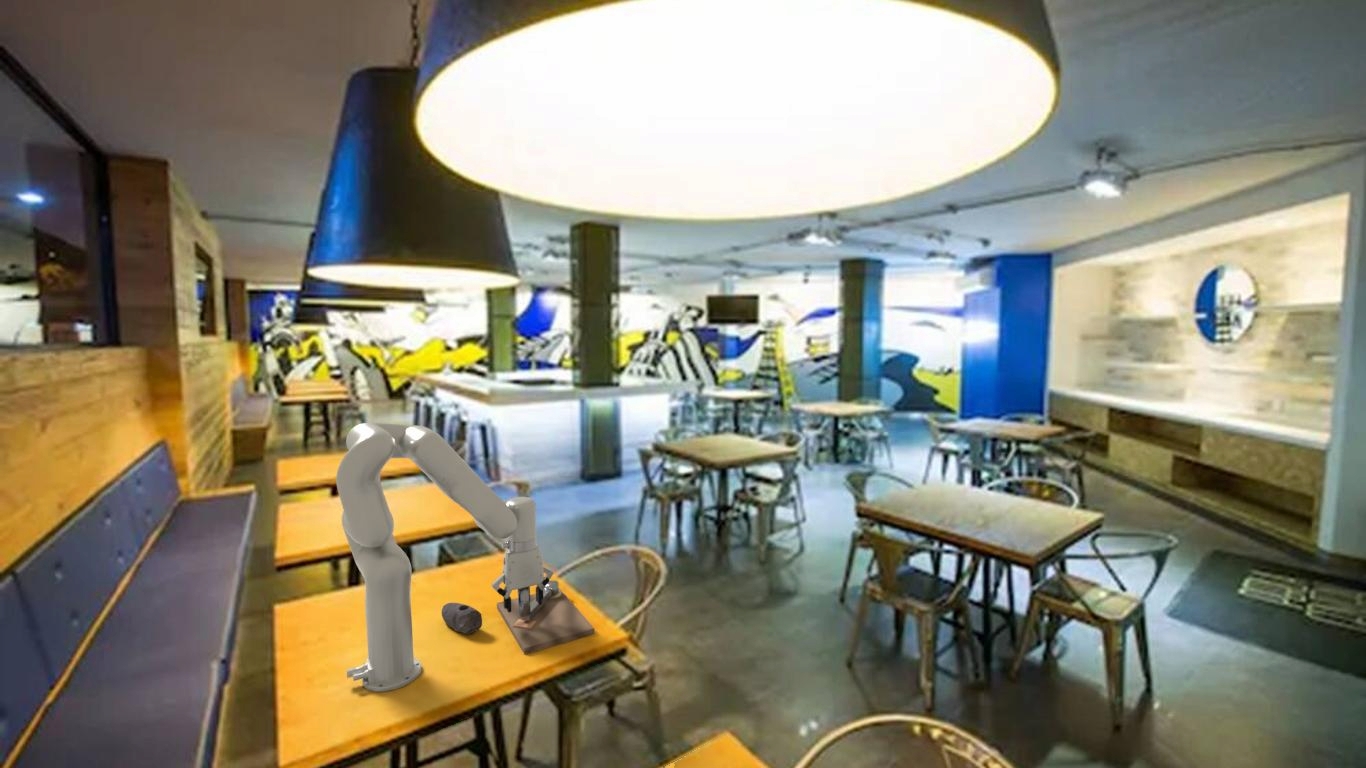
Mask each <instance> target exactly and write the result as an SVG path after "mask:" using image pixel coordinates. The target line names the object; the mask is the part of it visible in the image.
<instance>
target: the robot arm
mask: <svg viewBox="0 0 1366 768" xmlns="http://www.w3.org/2000/svg"><path fill="white" fill-rule="evenodd" d="M345 445H346V448H347V450H348V451H347V452H346V453H345V455H344V456H343V458H342V459H341V461H340V463H339V466H338V468H337V472H336V477H335V478H336V479H335V480H336V481H335V482H336V488H337V492H338V495H339V499H340V502H341V506H342V509H343V511H342V515H341V525H342V528H343V531H344V534H345V537H346V540H347V543H348V546H349V547H350V548H349V549H350V551H351V553H352V556H353V560H354V562H355V564H356V566H357V568H358V570H359V572H360V573H361V575H362V577H363V579H364V584H365V586H364V587H365V593H364V594H365V596H364V597H365V599H364V603H365V604H364V605H365V622H366V623H365V625H366V637H367V638H366V639H367V640H366V641H367V653H368V655H367V658H366V662H365V663H362V664H361V665H360V666H356V667H355V666H354V667H351V668H346V675H347V676H346V678H347V679H349V678H352V679H353V680H352V681H353V682H355V681H359V680H361V682H362V686H363V688H365V689H366V690H368V691H371V692H376V693H377V692H389V691H394V690H397V689H401V688H403V687H404V686H407V685H408V684H410V683H411V682H413V681H414V680H415V679H417V678H418V677H419V676H420V674H421V672H422V663H421V661H420V660H418V659H417V658H416V657H414V639H413V622H412V620H413V619H412V618H413V617H412V603H411V601H412V600H411V587H412V573H413V572H412V570H413V569H412V565H411V562H410V559H409V557H408V556H407V554H406V552H405V551H404V550H403V549H402V548H401V547H400V546H399V544H398V543H397V542H396V539H395V537H394V534H393V533H394V529H395V521H394V517H393V515H392V512H391V510H390V508H389V505H388V502H387V498H386V496H385V492H384V489H383V486H382V482H381V474H382V472H383V471H382V470H383V469H384V467H385V465H386V464H387V463H388V462H390V460H391V459H409V460H411V462H413V463H414V465H415V466H417V468H418V469H419V470H420V471H422V472H423V474H425V476H427V478H429V480H431V481H432V482H433V483H434V485H436V487H438V489H439V490H440V491H441V492H442V493H443V494H444V495H445V496H446V497H448V498H449V499H450V500H451V501H453V503H455V504H457V505H458V506H460V507H461V508H463V509H464V510H465V511H466V512H467V513H468V514H469V515H471V516H472V518H473V520H474V521H473V522H474V523H475V524H476V525H477V526H478V528H480V529H481V530H482V531H484V532H485V533H487V534H488V535H489V536H490V537H492V538H494V539H496V540H504V539H506V540H505V542H503V543H501V548H502V549H505V551H504V557H503V566H502V574H501V575H499V577H497V578H496V579H495V580H494V581H493V582H492V583H491V587H492V588H493V590H495V591H496V592H497V593H498V594H499V595H500V596H501V597H503V601H504V608H505V609H507V611H508V612H511V599H512V598H511V596H510V595H511V594H512V591H515V590H518V589H521V588H525V587H529V586H530V587H533V586H535V594H536V601H537V602H538V604H540V605H541V604H542V600H543V590H544V589H545V586H546V585H547V583H548V582H549V581H550V580H551V578H552V577H553V575H554V571H553V570H552V569H550V568H547V567H546V566H544V565H543V564H544V563H543V556H542V551H541V547H540V546H539V545H538V544H537V520H536V519H537V515H536V513H537V511H536V501H535V499H534V498H531V497H528V496H517V497H513V498H510V499H503V500H502V498H500V497H499V496H498V494H497V493H496V492H495V491H494V490H493V489H492V488H491V487H490V486H489V485H488V484H487V483H486V482H485V481H484V480H483V479H482V478H481V477H480V476H479V475H478V473H477V472H475V471H474V470H473V469H472V467H470V466H469V464H468V463H467V462H466V461H465V460H464V459H463V458H462V457H461V456H460V455H459V454H458V453H457V451H455V449H454V448H453V447H452V446H451V445H450V444H449V443H448V442H447V441H446V440H445V439H444V437H443V436H442V435H441V434H439V433H438V432H436V431H435V430H433V429H431V428H428V427H426V426H422V425H415V424H414V425H413V424H396V423H382V422H363V423H360V424H357V425H355V426H353V427H352V428H351V429H350V431H348V432H347V436H346V440H345ZM502 583H503V584H504V587H503V588H502V587H501V586H500V585H501V584H502Z"/></svg>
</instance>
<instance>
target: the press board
mask: <svg viewBox="0 0 1366 768" xmlns="http://www.w3.org/2000/svg"><path fill="white" fill-rule="evenodd" d="M535 598H536V593H533V594H530V604H531V602H532V601H533V600H534V599H535ZM496 609H497V611H498V613H499V614H500V615H501V618H502V620H503V621H504V622H505V624H506V626H507V627H508V629H509V631H510V633H511V635H512V636H513V638H514V639H515V641H516V642H517V645H518V646H519V648H520V650H521V651H522V652H523V654H524V655H528V654H530V653H533V652H538V651H539V650H540V651H541V650H543V649H547V648H551V647H555V646H557V645H561V644H565V643H568V642H571V641H575V640H577V639H581V638H586V637H589V636H593V635H594V634H595V628H594V626H593V625H592V624H591V623H590V621H589V620H587V618H586V617H585V616H584V615H583V614H582V612H581V611H580V610H579V609H578V608H577V607H576V606H575V604H574V603H573V602H572V601H571V600H570V599H569V597H568V596H567V595H566V594H565V593H564V591H563V590H562V589H561V588H560V587H559V592H558V593H557V594H556V595H552V596H551V597H550V598H549V599H548V600H547V601H546V602H545V604H544V605H543V606H542V607H541V608H540V609H539V610H538V612H537V613H536V614H535V615H534V616H533V617H532V618H531V620H530V621H526V620H522V617H519V616H518V597H517V598H516V597H515V598H513V599H512V598H511V612H508V611H507V609H505V608H504V600H502V601H500V602H497V603H496Z"/></svg>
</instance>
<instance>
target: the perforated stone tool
mask: <svg viewBox="0 0 1366 768" xmlns="http://www.w3.org/2000/svg"><path fill="white" fill-rule="evenodd" d="M441 618H442V620H443V621H444V623H445V624H446V625H447V626H449V627H450V628H452V630H453V629H454V631H456V632H459V633H464V634H465V635H470V634H471V633H475V632H478V631H479V630H480V629H481V628H482V626H483V618H482V613H481V612H480V611H479V610H478V609H476V608H474V607H473V606H470V605H469V604H464V603H459V602H448V603H447V602H446V603H445V604H444V605H443V606H442V608H441Z"/></svg>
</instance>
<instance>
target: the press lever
mask: <svg viewBox="0 0 1366 768" xmlns="http://www.w3.org/2000/svg"><path fill="white" fill-rule="evenodd" d="M559 585H560V584H559V582H558V581H557V580H549V582H548V583H547V585H546V586H545V589H544V590H543V600H542V604H541V605H540V604H538V602H537V601H536V598H535V599H534V600H533V601H532V602H531V604H530V595H531V586H529V587H525V588H521V589H517V598H518V616H519V617H522V620H526V621H530V620H531V618H532V617H533V616H534V615H535V614H536V613H537V612H538V610H539V609H540V608H541V607H542V606H543V605H544V604H545V602H546V601H547V600H548V599H549V598H550V597H551V596H552V595H556V594H557V593H558V592H559V588H560V587H559Z"/></svg>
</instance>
